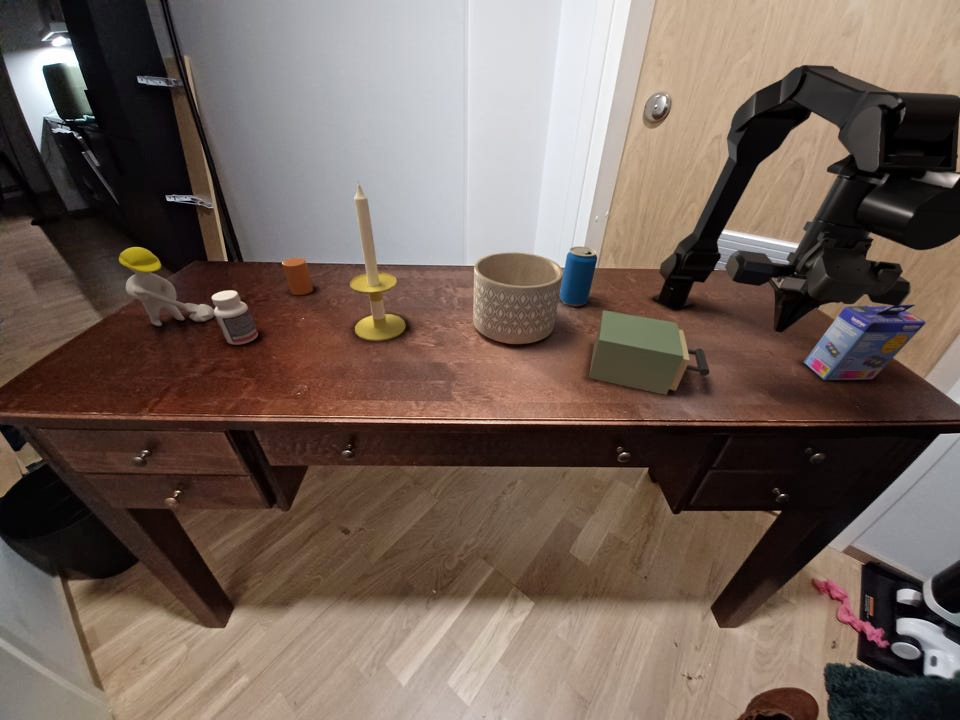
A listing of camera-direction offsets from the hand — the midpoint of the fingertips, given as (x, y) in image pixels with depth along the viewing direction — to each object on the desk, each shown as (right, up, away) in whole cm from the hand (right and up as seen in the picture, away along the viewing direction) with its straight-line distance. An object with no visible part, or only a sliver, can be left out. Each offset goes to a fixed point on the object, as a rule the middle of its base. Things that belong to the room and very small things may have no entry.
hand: (777, 330), depth 53 cm
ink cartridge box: (+21, -7, +13) cm, 26 cm away
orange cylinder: (-85, +12, +32) cm, 92 cm away
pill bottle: (-88, 0, +16) cm, 90 cm away
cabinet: (-17, -6, +11) cm, 22 cm away
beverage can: (-22, +9, +32) cm, 40 cm away
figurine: (-103, +3, +20) cm, 105 cm away
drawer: (-14, -6, +10) cm, 18 cm away
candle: (-64, +2, +20) cm, 67 cm away
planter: (-37, +2, +22) cm, 43 cm away
